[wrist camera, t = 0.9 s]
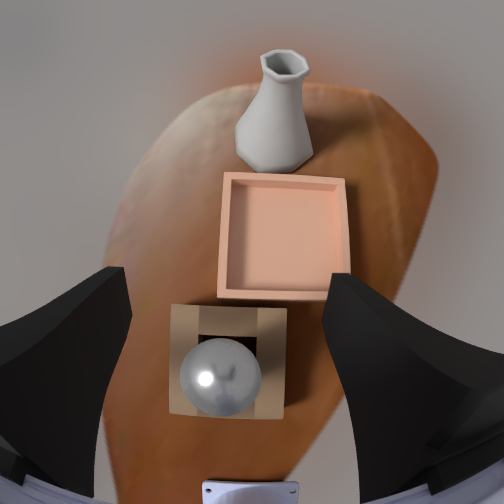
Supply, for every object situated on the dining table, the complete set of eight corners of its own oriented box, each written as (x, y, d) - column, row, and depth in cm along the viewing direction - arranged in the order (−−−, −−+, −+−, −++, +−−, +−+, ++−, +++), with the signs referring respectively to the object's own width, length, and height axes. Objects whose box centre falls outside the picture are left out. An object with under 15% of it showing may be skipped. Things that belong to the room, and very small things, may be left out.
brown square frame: (279, 409, 21) (283, 419, 19) (177, 404, 21) (169, 413, 18) (282, 309, 23) (287, 308, 20) (178, 305, 23) (171, 303, 20)
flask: (289, 105, 27) (304, 27, 18) (326, 161, 26) (360, 88, 16) (221, 126, 26) (213, 45, 17) (253, 188, 25) (258, 113, 15)
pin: (255, 386, 21) (260, 417, 14) (200, 384, 21) (179, 412, 14) (257, 333, 22) (262, 340, 15) (202, 331, 22) (180, 336, 15)
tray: (342, 301, 23) (350, 299, 21) (219, 299, 23) (216, 297, 21) (337, 188, 25) (344, 178, 23) (225, 183, 25) (224, 172, 23)
